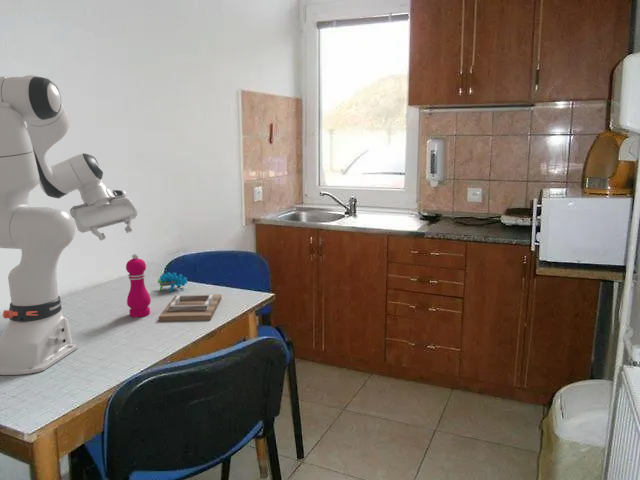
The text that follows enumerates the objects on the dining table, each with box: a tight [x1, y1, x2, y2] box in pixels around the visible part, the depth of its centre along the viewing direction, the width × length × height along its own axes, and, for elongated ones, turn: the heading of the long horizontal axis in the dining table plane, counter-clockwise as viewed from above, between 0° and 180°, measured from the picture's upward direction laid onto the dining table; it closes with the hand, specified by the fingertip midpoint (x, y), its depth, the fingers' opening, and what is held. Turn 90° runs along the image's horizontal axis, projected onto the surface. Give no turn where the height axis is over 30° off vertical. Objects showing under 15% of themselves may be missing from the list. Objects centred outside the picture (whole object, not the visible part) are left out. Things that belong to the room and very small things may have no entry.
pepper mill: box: [125, 253, 152, 318], centre depth 168 cm, size 7×7×20 cm
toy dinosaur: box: [157, 271, 188, 293], centre depth 196 cm, size 11×6×10 cm
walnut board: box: [158, 294, 222, 322], centre depth 174 cm, size 22×16×3 cm
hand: (116, 235), depth 175 cm, fingers open, 8 cm apart
